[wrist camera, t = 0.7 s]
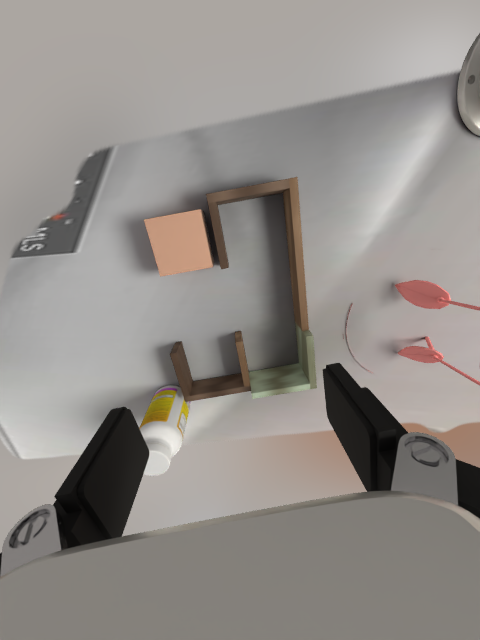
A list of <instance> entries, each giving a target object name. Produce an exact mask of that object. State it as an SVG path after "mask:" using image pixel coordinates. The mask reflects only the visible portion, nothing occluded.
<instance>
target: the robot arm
mask: <svg viewBox="0 0 480 640" xmlns="http://www.w3.org/2000/svg"><path fill="white" fill-rule="evenodd" d="M457 101H458V107H459V112H460V115H461V117H462V120H463V122H464V123H465V125H466V126H467V128H468V129H470V130H471V131H472V132H473V133H474V134H476V135H479V136H480V34H479V35H478V36H477V38H476V39H475V41H474V43H473V44H472V46H471V47H470V49H469V51H468V53H467V56H466V58H465V60H464V62H463V66H462V69H461V72H460V76H459V82H458V88H457ZM323 378H324V389H325V399H326V409H327V416H328V419H329V422H330V424H331V425H332V427H333V429H334V431H335V433H336V435H337V437H338V438H339V440H340V442H341V444H342V446H343V448H344V449H345V451H346V453H347V455H348V457H349V459H350V461H351V463H352V464H353V466H354V468H355V470H356V472H357V474H358V476H359V477H360V479H361V481H362V483H363V485H364V487H365V489H366V490H367V492H362V493H353V494H347V495H340V496H335V497H328V498H322V499H316V500H310V501H305V502H300V503H294V504H289V505H284V506H278V507H273V508H267V509H262V510H257V511H251V512H246V513H241V514H236V515H230V516H225V517H220V518H214V519H209V520H205V521H199V522H194V523H188V524H183V525H178V526H173V527H168V528H163V529H158V530H153V531H148V532H143V533H138V534H133V535H128V536H123V537H122V534H123V531H124V528H125V525H126V522H127V519H128V517H129V514H130V511H131V508H132V505H133V502H134V499H135V496H136V494H137V491H138V488H139V485H140V482H141V479H142V476H143V473H144V471H145V468H146V465H147V462H148V459H149V449H148V447H147V444H146V442H145V440H144V438H143V436H142V434H141V431H140V429H139V427H138V425H137V423H136V421H135V419H134V416H133V414H132V412H131V410H130V409H127V408H126V407H121V408H116V409H112V410H111V411H110V412H109V414H108V415H107V417H106V418H105V420H104V421H103V423H102V424H101V426H100V428H99V429H98V431H97V432H96V434H95V435H94V437H93V438H92V440H91V441H90V443H89V444H88V446H87V447H86V449H85V450H84V452H83V454H82V455H81V457H80V458H79V460H78V461H77V463H76V464H75V466H74V467H73V469H72V470H71V472H70V473H69V475H68V476H67V478H66V479H65V481H64V483H63V484H62V486H61V487H60V489H59V490H58V492H57V493H56V495H55V498H56V499H57V500H56V501H55V503H54V504H53V505H51V504H46V505H42V506H40V507H37V508H36V509H34V510H33V511H31V512H29V513H28V514H27V515H25V516H24V517H23V518H22V519H21V520H20V521H19V522H18V523H17V524H16V525H15V526H14V527H13V528H12V529H11V531H10V532H9V533H8V535H7V537H6V539H5V541H4V544H3V548H2V553H0V640H480V468H478V467H476V466H473V465H470V464H468V463H465V462H462V461H459V460H457V459H455V456H454V454H453V452H452V451H451V449H450V448H449V447H448V446H447V445H446V444H445V443H444V442H442V441H441V440H439V439H437V438H436V437H433V436H430V435H428V434H424V433H419V432H416V433H415V432H413V433H412V432H411V433H408V432H407V431H406V430H405V429H404V428H403V427H402V425H401V424H400V423H399V422H398V421H397V420H396V419H395V418H394V417H393V415H392V414H391V413H390V412H389V411H388V410H387V409H386V408H385V407H384V405H383V404H382V403H381V402H380V401H379V400H378V399H377V398H376V397H375V395H374V394H373V393H372V392H371V391H370V390H369V389H368V388H366V387H364V388H361V387H360V386H359V385H358V384H357V383H356V382H355V380H354V379H353V378H352V377H351V376H350V375H349V373H348V372H347V371H346V370H345V369H344V368H343V366H342V365H341V364H340V363H335V364H330V365H327V366H326V369H323Z"/></svg>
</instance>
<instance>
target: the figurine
mask: <svg viewBox="0 0 480 640" xmlns="http://www.w3.org/2000/svg"><path fill="white" fill-rule="evenodd" d="M395 286H396V288H397V290H398V291H399V292H400V293H401V295H402V296H403V297H404V298H405V299H406V300H407V301H409V302H411V303H412V304H414V305H416V306H419V307H423V308H429V309H441V308H443V307H445V306H447V305H449V304H453V305H458V306H462V307H467V308H471V309H475V310H480V307H477V306H472V305H467V304H463V303H458V302H453V301H451V299H450V295H449V293H448V292H446V291H445V290H444V289H443V288H441V287H440V286H439V285H436V284H434V283H431V282H428V281H419V280H413V281H409V282H404V283H403V282H402V283H399V284H396V285H395ZM351 306H352V305H351ZM350 309H351V307H350ZM349 312H350V310H349ZM348 315H349V313H348ZM347 319H348V317H347ZM346 326H347V322H346ZM343 337H344V336H343ZM346 338H347V336H346ZM425 340H426V342H427V344H428V346H429V348H425V347H419V346H410V347H406V348H404V349H402V350H401V351H399V352H398V354H399V355H402V356H404V357H407V358H410V359H412V360H415V361H420V362H424V363H435V362H441V363H443V364H444V365H446V366H448V367H449V368H451V369H453V370H454V371H456V372H458V373H460V374H461V375H463V376H465V377H466V378H468V379H470V380H471V381H473V382H475V383H476V384H478V385H480V382H479V381H477V380H475V379H474V378H472V377H470V376H468V375H467V374H465V373H463V372H461V371H460V370H458V369H456V368H454V367H453V366H451V365H449V364H448V363H446V362H444V361H442V359H443V357H444V356H442V354H441V353H440V352H438V351H436V350H434V347H433V345H432V343H431V341H430V339H429V337H425ZM350 352H351V351H350ZM353 357H354V356H353ZM366 370H367V369H366ZM368 371H369V370H368Z"/></svg>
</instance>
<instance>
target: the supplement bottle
mask: <svg viewBox="0 0 480 640" xmlns="http://www.w3.org/2000/svg"><path fill="white" fill-rule="evenodd" d="M189 408H190V401H188V402H185V400H184V397H183V394H182V391H181V388H180V387H178V386H172V385H171V386H165V387H162V388H160V389H159V390H158V391H157V392H156V393H155V395H154V396H153V399H152V401H151V403H150V405H149V408H148V410H147V412H146V415H145V417H144V419H143V421H142V424H141V426H140V428H139V429H140V431H141V434H142V436H143V438H144V440H145V442H146V444H147V447H148V449H149V459H148V462H147V465H146V468H145V471H144V473H143V474H145V475H150V476H156V475H161V474H163V473H164V472H166V471H167V470H168V468H169V465H170V462H171V459H172V457H173V456H174V455H175V454H176V453H177V452H178V451H179V450H180V448H181V445H182V441H183V436H184V431H185V426H186V422H187V417H188V413H189Z"/></svg>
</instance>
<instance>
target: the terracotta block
mask: <svg viewBox="0 0 480 640" xmlns="http://www.w3.org/2000/svg"><path fill="white" fill-rule="evenodd" d="M144 222H145V225H146V229H147V232H148V236H149V239H150V242H151V246H152V249H153V253H154V256H155V260H156V263H157V266H158V270H159V273H160V277H161V276H166V275H172V274H177V273H183V272H188V271H194V270H199V269H205V268H210V267H213V265H214V258H213V253H212V248H211V243H210V239H209V234H208V229H207V224H206V219H205V214H204V211H202V210H201V209H199V210H193V211H188V212H182V213H177V214H172V215H166V216H161V217H156V218H150V219H145V220H144Z"/></svg>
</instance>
